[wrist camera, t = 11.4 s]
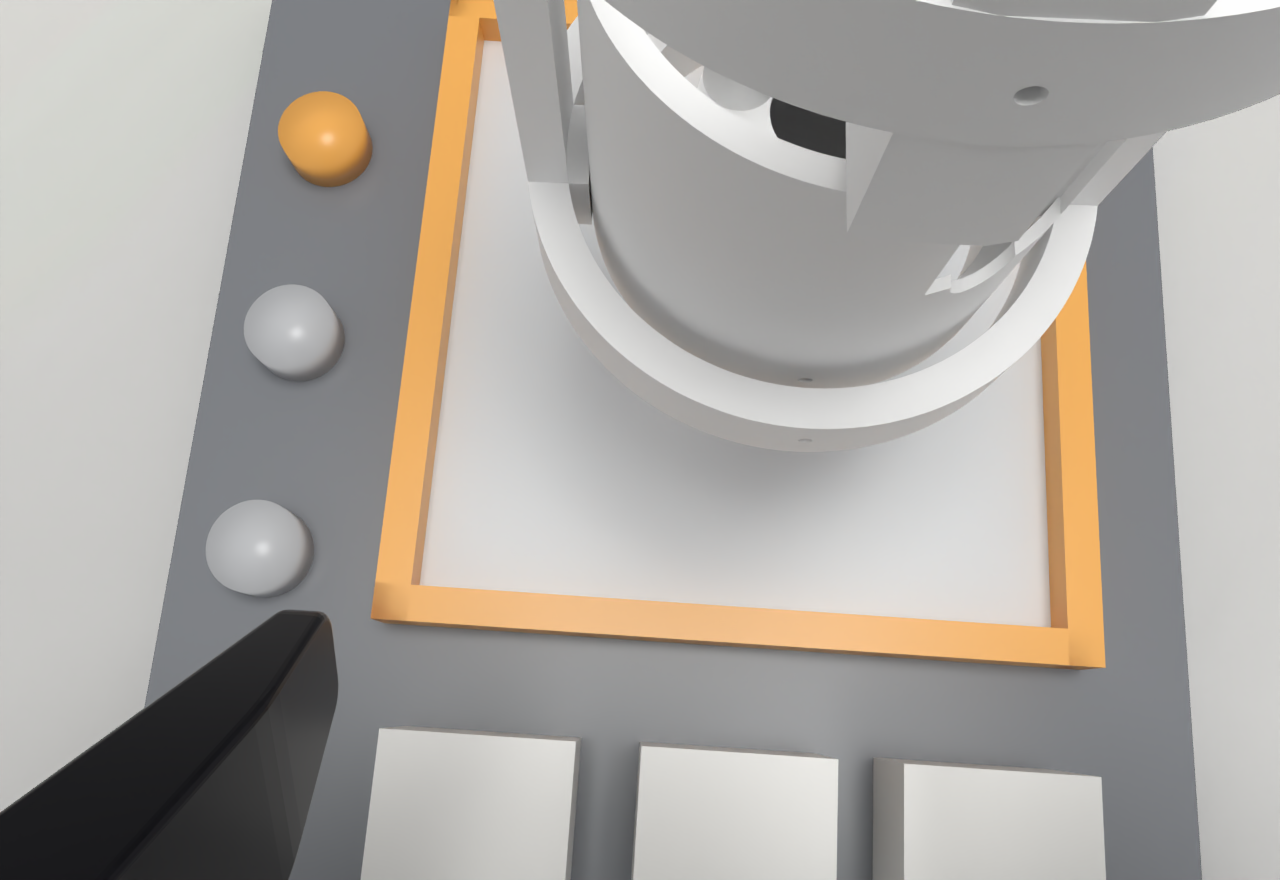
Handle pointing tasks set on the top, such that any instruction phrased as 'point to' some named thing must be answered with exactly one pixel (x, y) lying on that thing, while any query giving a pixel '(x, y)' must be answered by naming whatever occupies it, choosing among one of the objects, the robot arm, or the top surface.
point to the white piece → (844, 185)
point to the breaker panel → (660, 537)
